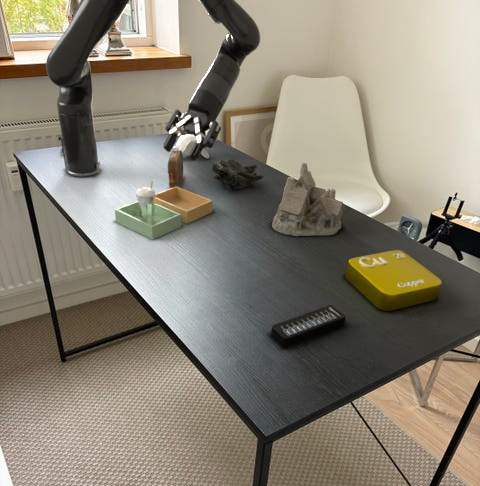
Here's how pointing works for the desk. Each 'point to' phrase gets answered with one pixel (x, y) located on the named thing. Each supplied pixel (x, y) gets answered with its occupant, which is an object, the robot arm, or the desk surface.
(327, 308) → the multiport hub
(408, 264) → the element tile
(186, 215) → the bin right
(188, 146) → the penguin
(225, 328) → the desk surface
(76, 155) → the robot arm
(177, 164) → the tin
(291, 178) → the ceramic cottage
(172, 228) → the bin left
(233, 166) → the mineral specimen
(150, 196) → the milkshake
